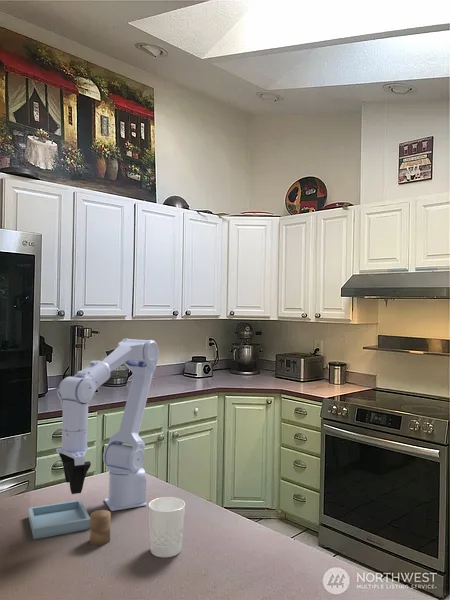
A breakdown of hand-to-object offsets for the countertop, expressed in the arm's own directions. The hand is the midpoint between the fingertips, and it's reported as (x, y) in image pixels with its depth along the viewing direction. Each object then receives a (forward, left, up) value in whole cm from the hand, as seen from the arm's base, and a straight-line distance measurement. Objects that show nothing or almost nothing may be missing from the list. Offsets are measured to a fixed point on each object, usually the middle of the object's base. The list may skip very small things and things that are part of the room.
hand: (73, 487), depth 113 cm
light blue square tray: (+2, -6, -10) cm, 12 cm away
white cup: (-17, +17, -11) cm, 26 cm away
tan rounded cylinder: (-5, +7, -10) cm, 13 cm away
